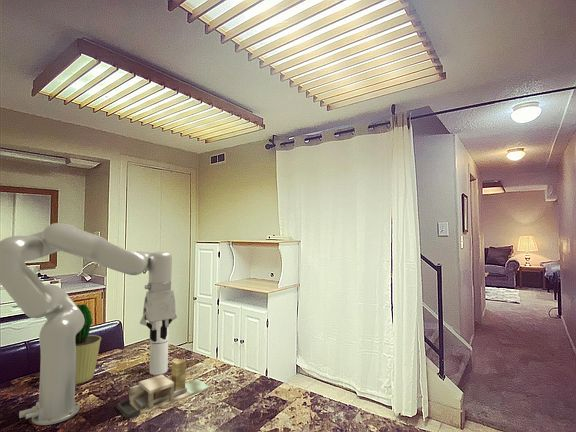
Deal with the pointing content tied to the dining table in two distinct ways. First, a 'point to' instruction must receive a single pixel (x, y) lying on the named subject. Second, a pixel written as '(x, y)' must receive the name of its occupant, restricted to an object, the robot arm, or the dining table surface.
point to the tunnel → (154, 385)
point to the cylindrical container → (159, 352)
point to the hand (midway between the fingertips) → (158, 339)
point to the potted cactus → (86, 348)
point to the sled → (161, 395)
